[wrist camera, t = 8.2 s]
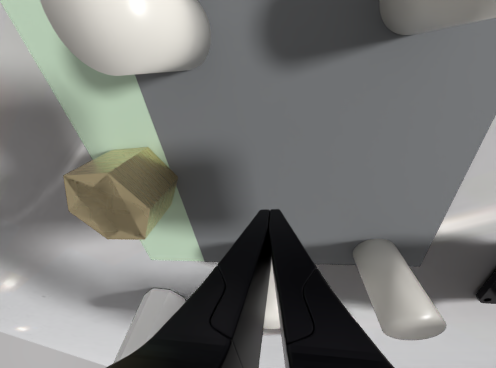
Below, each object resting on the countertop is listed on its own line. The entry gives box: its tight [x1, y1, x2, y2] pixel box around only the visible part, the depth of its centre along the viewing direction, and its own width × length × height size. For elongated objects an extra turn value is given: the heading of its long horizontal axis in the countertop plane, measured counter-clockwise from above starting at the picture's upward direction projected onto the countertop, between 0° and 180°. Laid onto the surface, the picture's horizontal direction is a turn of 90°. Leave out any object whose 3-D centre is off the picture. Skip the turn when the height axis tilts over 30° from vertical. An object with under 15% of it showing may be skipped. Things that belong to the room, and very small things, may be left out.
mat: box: [0, 0, 496, 266], centre depth 12 cm, size 20×23×1 cm
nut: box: [63, 147, 178, 240], centre depth 12 cm, size 5×5×4 cm
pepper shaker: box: [113, 288, 186, 364], centre depth 19 cm, size 5×5×11 cm
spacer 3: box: [353, 239, 446, 340], centre depth 13 cm, size 3×3×5 cm
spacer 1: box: [40, 0, 211, 76], centre depth 7 cm, size 3×3×5 cm
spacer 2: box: [263, 259, 280, 329], centre depth 14 cm, size 3×3×5 cm
